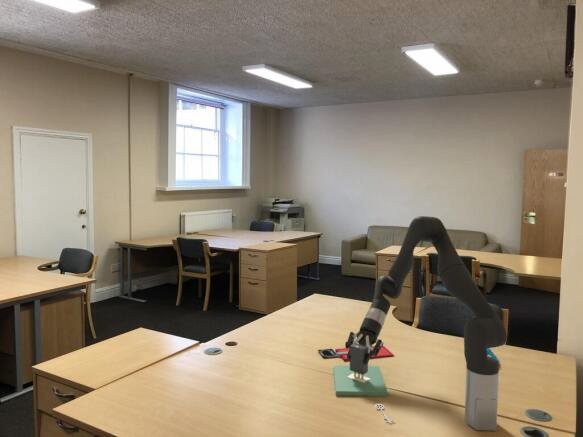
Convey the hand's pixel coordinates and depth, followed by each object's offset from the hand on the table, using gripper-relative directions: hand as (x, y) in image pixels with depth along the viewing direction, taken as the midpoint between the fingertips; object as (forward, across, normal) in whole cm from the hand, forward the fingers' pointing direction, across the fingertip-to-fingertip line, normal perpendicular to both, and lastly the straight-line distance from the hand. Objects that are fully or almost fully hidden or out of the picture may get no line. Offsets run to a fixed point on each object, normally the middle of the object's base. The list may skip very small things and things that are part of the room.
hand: (356, 361), depth 167 cm
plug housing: (+2, 0, +4) cm, 5 cm away
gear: (-32, +30, +45) cm, 63 cm away
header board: (+5, 0, +7) cm, 8 cm away
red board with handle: (-11, -16, +24) cm, 31 cm away
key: (+15, +19, -3) cm, 25 cm away
